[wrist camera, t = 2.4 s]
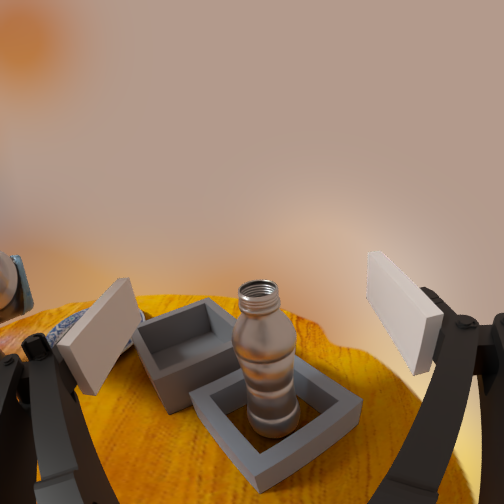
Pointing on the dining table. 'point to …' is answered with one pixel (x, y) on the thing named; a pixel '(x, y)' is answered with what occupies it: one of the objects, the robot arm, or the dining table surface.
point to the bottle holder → (293, 447)
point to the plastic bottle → (266, 359)
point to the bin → (186, 350)
